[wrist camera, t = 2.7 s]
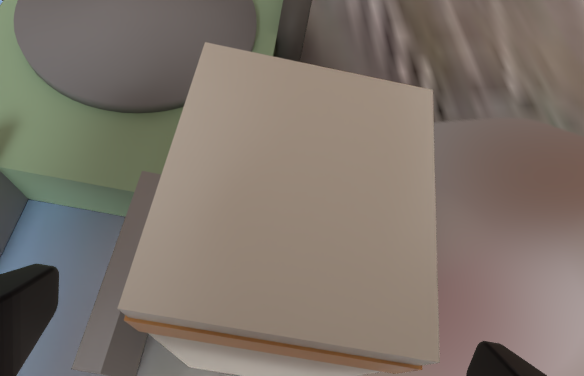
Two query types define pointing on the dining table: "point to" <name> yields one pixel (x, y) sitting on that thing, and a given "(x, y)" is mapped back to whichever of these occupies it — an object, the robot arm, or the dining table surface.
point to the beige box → (292, 224)
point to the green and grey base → (112, 117)
